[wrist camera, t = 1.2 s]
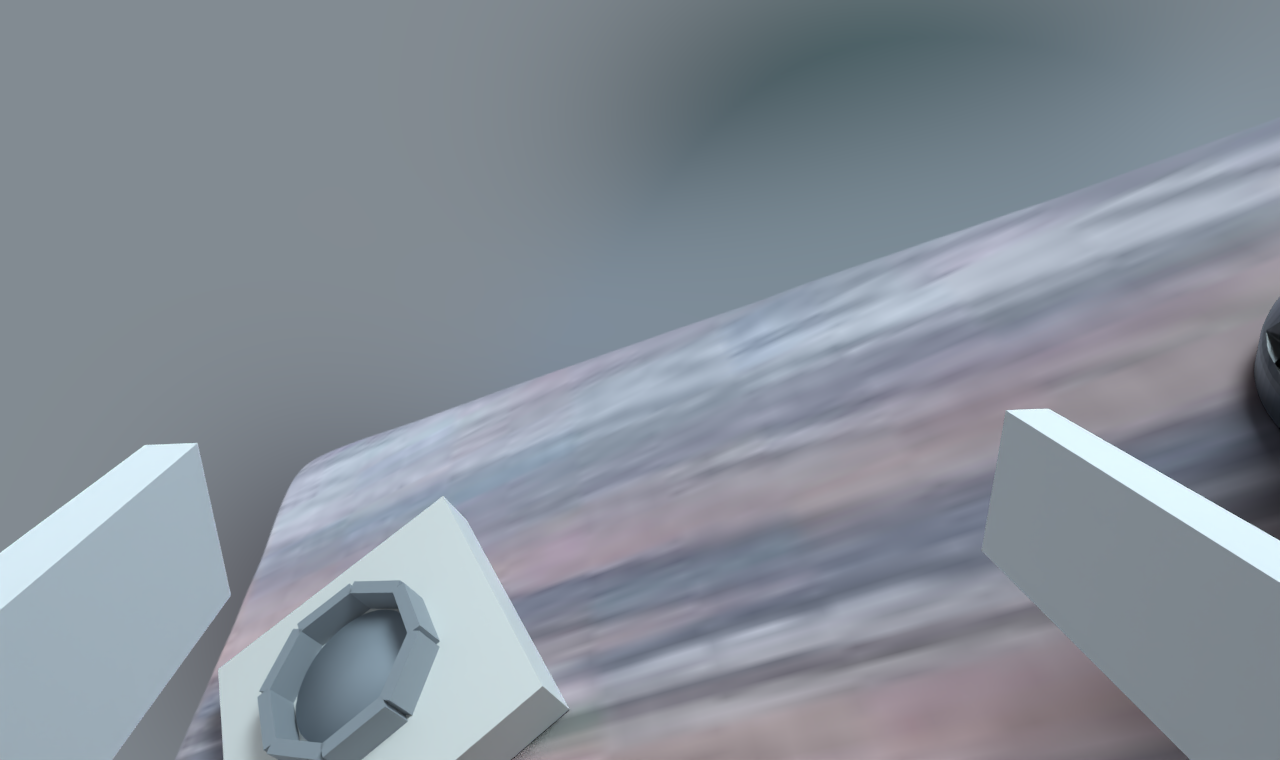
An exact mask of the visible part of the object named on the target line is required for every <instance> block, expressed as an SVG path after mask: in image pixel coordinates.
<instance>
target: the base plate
mask: <svg viewBox="0 0 1280 760" xmlns="http://www.w3.org/2000/svg"><path fill="white" fill-rule="evenodd" d="M218 674H219V691H220V707H221V724H222V741H223V758H224V760H511V759H512V758H513V757H515V756H516V755H517V754H518V753H519V752H520V751H522V750H523V749H524V748H525V747H526V746H527V745H529V744H530V743H531V742H532V741H533V740H534V739H535V738H537V737H538V736H539V735H540V734H541V733H542V732H544V731H545V730H546V729H547V728H548V727H549V726H551V725H552V724H553V723H554V722H555V721H556V720H558V719H559V718H560V717H561V716H562V715H563V714H564V713H566V712H567V711H568V710H569V708H568V706H567V704H566V702H565V700H564V698H563V696H562V695H561V693H560V691H559V689H558V687H557V685H556V684H555V682H554V680H553V678H552V676H551V674H550V673H549V671H548V669H547V667H546V665H545V663H544V662H543V660H542V658H541V656H540V654H539V652H538V651H537V649H536V647H535V645H534V643H533V641H532V640H531V638H530V636H529V634H528V632H527V630H526V628H525V627H524V625H523V623H522V621H521V619H520V617H519V616H518V614H517V612H516V610H515V608H514V606H513V605H512V603H511V601H510V599H509V597H508V595H507V594H506V592H505V590H504V588H503V586H502V584H501V583H500V581H499V579H498V577H497V575H496V573H495V571H494V570H493V568H492V566H491V564H490V562H489V560H488V559H487V557H486V555H485V553H484V551H483V549H482V548H481V546H480V544H479V542H478V540H477V538H476V537H475V535H474V533H473V531H472V529H471V527H470V526H469V524H468V522H467V520H466V519H465V518H464V517H463V516H462V515H461V514H460V513H459V512H458V511H457V510H456V509H455V508H454V507H453V506H452V505H451V504H450V503H449V501H448V500H447V499H446V498H445V497H444V496H442V497H441V498H440V499H439V500H437V501H436V502H435V503H433V504H432V505H431V506H429V507H428V508H427V509H426V510H424V511H423V512H422V513H420V514H419V515H418V516H417V517H415V518H414V519H413V520H411V521H410V522H409V523H407V524H406V525H405V526H404V527H402V528H401V529H400V530H398V531H397V532H396V533H394V534H393V535H392V536H391V537H389V538H388V539H387V540H385V541H384V542H383V543H381V544H380V545H379V546H378V547H376V548H375V549H374V550H372V551H371V552H370V553H368V554H367V555H366V556H365V557H363V558H362V559H361V560H359V561H358V562H357V563H355V564H354V565H353V566H352V567H350V568H349V569H348V570H346V571H345V572H344V573H342V574H341V575H340V576H339V577H337V578H336V579H335V580H333V581H332V582H331V583H329V584H328V585H327V586H326V587H324V588H323V589H322V590H320V591H319V592H318V593H316V594H315V595H314V596H313V597H311V598H310V599H309V600H307V601H306V602H305V603H303V604H302V605H301V606H300V607H298V608H297V609H296V610H294V611H293V612H292V613H290V614H289V615H288V616H287V617H285V618H284V619H283V620H281V621H280V622H279V623H278V624H276V625H275V626H274V627H272V628H271V629H270V630H268V631H267V632H266V633H265V634H263V635H262V636H261V637H259V638H258V639H257V640H255V641H254V642H253V643H252V644H250V645H249V646H248V647H246V648H245V649H244V650H242V651H241V652H240V653H239V654H237V655H236V656H235V657H233V658H232V659H231V660H229V661H228V662H227V663H226V664H224V665H223V666H222V667H220V668H219V669H218Z"/></svg>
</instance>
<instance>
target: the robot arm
mask: <svg viewBox="0 0 1280 760" xmlns="http://www.w3.org/2000/svg"><path fill="white" fill-rule="evenodd" d="M1254 376H1255V384H1256V388H1257V392H1258V394H1259V397H1260V400H1261V402H1262V404H1263V406H1264V408H1265V409H1266V411H1267V412H1268V414H1269V416H1270V417H1271V418H1272V420H1273V421H1274V422H1275V424H1276V425H1277V426H1278V427H1279V428H1280V297H1279V298H1278V300H1277V301H1276V302H1275V304H1274V305H1273V307H1272V308H1271V310H1270V312H1269V314H1268V316H1267V318H1266V320H1265V322H1264V324H1263V327H1262V330H1261V334H1260V339H1259V344H1258V350H1257V355H1256V360H1255V367H1254ZM982 552H983V553H984V554H985V555H986V556H987V557H988V558H989V559H990V560H991V561H992V562H993V563H994V564H995V565H996V566H997V567H998V568H999V569H1000V570H1001V571H1002V572H1003V573H1004V574H1005V575H1006V576H1007V577H1008V578H1009V579H1010V580H1011V581H1012V582H1013V583H1014V584H1015V585H1016V586H1017V587H1018V588H1019V589H1020V590H1021V591H1022V592H1023V593H1024V594H1025V595H1026V596H1027V597H1028V598H1029V599H1030V600H1031V601H1032V602H1033V603H1034V604H1035V605H1036V606H1037V607H1038V608H1039V609H1040V610H1041V611H1042V612H1043V613H1044V614H1045V615H1046V616H1047V617H1048V618H1049V619H1050V620H1051V621H1052V622H1053V623H1054V624H1055V625H1056V626H1057V627H1058V628H1059V629H1060V630H1061V631H1062V632H1063V633H1064V634H1065V635H1066V636H1067V637H1068V638H1069V639H1070V640H1071V641H1072V642H1073V643H1074V644H1075V645H1076V646H1077V647H1078V648H1079V649H1080V650H1081V651H1082V652H1083V653H1084V654H1085V655H1086V656H1087V657H1088V658H1089V659H1090V660H1091V661H1092V662H1093V663H1094V664H1095V665H1096V666H1097V667H1098V668H1099V669H1100V670H1101V671H1102V672H1103V673H1104V674H1105V675H1106V676H1107V677H1108V678H1109V679H1110V680H1111V681H1112V682H1113V683H1114V684H1115V685H1116V686H1117V687H1118V688H1119V689H1120V690H1121V691H1122V692H1123V693H1124V694H1125V695H1126V696H1127V697H1128V698H1129V699H1130V700H1131V701H1132V702H1133V703H1134V704H1135V705H1136V706H1137V707H1138V708H1139V709H1140V710H1141V711H1142V712H1143V713H1144V714H1145V715H1146V716H1147V717H1148V718H1149V719H1150V720H1151V721H1152V722H1153V723H1154V724H1155V725H1156V726H1157V727H1158V728H1159V729H1160V730H1161V731H1162V732H1163V733H1164V734H1165V735H1166V736H1167V737H1168V738H1169V739H1170V740H1171V741H1172V742H1173V743H1174V744H1175V745H1176V746H1177V747H1178V748H1179V749H1180V750H1181V751H1182V752H1183V753H1184V754H1185V755H1186V756H1187V757H1188V758H1189V759H1190V760H1280V541H1279V540H1278V539H1276V538H1274V537H1272V536H1271V535H1269V534H1267V533H1265V532H1264V531H1262V530H1260V529H1258V528H1257V527H1255V526H1253V525H1251V524H1250V523H1248V522H1246V521H1244V520H1243V519H1241V518H1239V517H1237V516H1236V515H1234V514H1232V513H1230V512H1229V511H1227V510H1225V509H1223V508H1222V507H1220V506H1218V505H1216V504H1215V503H1213V502H1211V501H1209V500H1208V499H1206V498H1204V497H1202V496H1201V495H1199V494H1197V493H1195V492H1194V491H1192V490H1190V489H1188V488H1187V487H1185V486H1183V485H1181V484H1180V483H1178V482H1176V481H1174V480H1172V479H1171V478H1169V477H1167V476H1165V475H1164V474H1162V473H1160V472H1158V471H1157V470H1155V469H1153V468H1151V467H1150V466H1148V465H1146V464H1144V463H1143V462H1141V461H1139V460H1137V459H1136V458H1134V457H1132V456H1130V455H1129V454H1127V453H1125V452H1123V451H1122V450H1120V449H1118V448H1116V447H1115V446H1113V445H1111V444H1109V443H1108V442H1106V441H1104V440H1102V439H1101V438H1099V437H1097V436H1095V435H1094V434H1092V433H1090V432H1088V431H1087V430H1085V429H1083V428H1081V427H1080V426H1078V425H1076V424H1074V423H1073V422H1071V421H1069V420H1067V419H1066V418H1064V417H1062V416H1060V415H1058V414H1057V413H1055V412H1053V411H1051V410H1050V409H1027V410H1006V413H1005V419H1004V425H1003V430H1002V436H1001V442H1000V448H999V453H998V459H997V465H996V471H995V476H994V482H993V488H992V494H991V499H990V505H989V511H988V517H987V522H986V528H985V534H984V540H983V545H982ZM230 596H231V593H230V589H229V584H228V580H227V575H226V570H225V566H224V561H223V557H222V553H221V548H220V544H219V539H218V534H217V530H216V525H215V520H214V516H213V511H212V507H211V503H210V498H209V493H208V489H207V484H206V480H205V475H204V471H203V466H202V461H201V457H200V453H199V448H198V443H187V444H162V445H144V446H143V447H142V448H141V449H139V450H138V451H136V452H135V453H134V454H132V455H131V456H130V457H129V458H127V459H126V460H124V461H123V462H122V463H120V464H119V465H118V466H116V467H115V468H114V469H112V470H111V471H110V472H108V473H107V474H105V475H104V476H103V477H101V478H100V479H99V480H98V481H96V482H95V483H94V484H92V485H91V486H90V487H88V488H87V489H85V490H84V491H83V492H81V493H80V494H79V495H77V496H76V497H75V498H73V499H72V500H71V501H69V502H68V503H67V504H65V505H64V506H63V507H61V508H60V509H58V510H57V511H56V512H54V513H53V514H52V515H50V516H49V517H48V518H46V519H45V520H44V521H42V522H41V523H40V524H38V525H37V526H36V527H34V528H33V529H32V530H30V531H29V532H28V533H26V534H25V535H24V536H22V537H21V538H20V539H18V540H17V541H15V542H14V543H13V544H11V545H10V546H9V547H8V548H6V549H5V550H4V551H2V552H1V553H0V760H112V759H113V758H114V757H115V755H116V754H117V752H118V751H119V750H120V748H121V747H122V745H123V744H124V743H125V741H126V740H127V739H128V737H129V736H130V734H131V733H132V731H133V730H134V729H135V727H136V726H137V724H138V723H139V722H140V720H141V719H142V718H143V716H144V715H145V714H146V712H147V711H148V709H149V708H150V706H151V705H152V704H153V702H154V701H155V700H156V698H157V697H158V696H159V694H160V693H161V691H162V690H163V688H164V687H165V686H166V684H167V683H168V682H169V680H170V678H172V676H173V675H174V673H175V672H176V671H177V669H178V668H179V666H180V665H181V664H182V662H183V661H184V659H185V658H186V657H187V655H188V654H189V652H190V651H191V650H192V648H193V647H194V645H195V644H196V643H197V641H198V640H199V639H200V637H201V636H202V635H203V633H204V632H205V630H206V629H207V628H208V626H209V625H210V623H211V622H212V621H213V619H214V618H215V617H216V615H217V614H218V612H219V611H220V610H221V608H222V607H223V605H224V604H225V603H226V601H227V600H228V599H229V597H230Z"/></svg>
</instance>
